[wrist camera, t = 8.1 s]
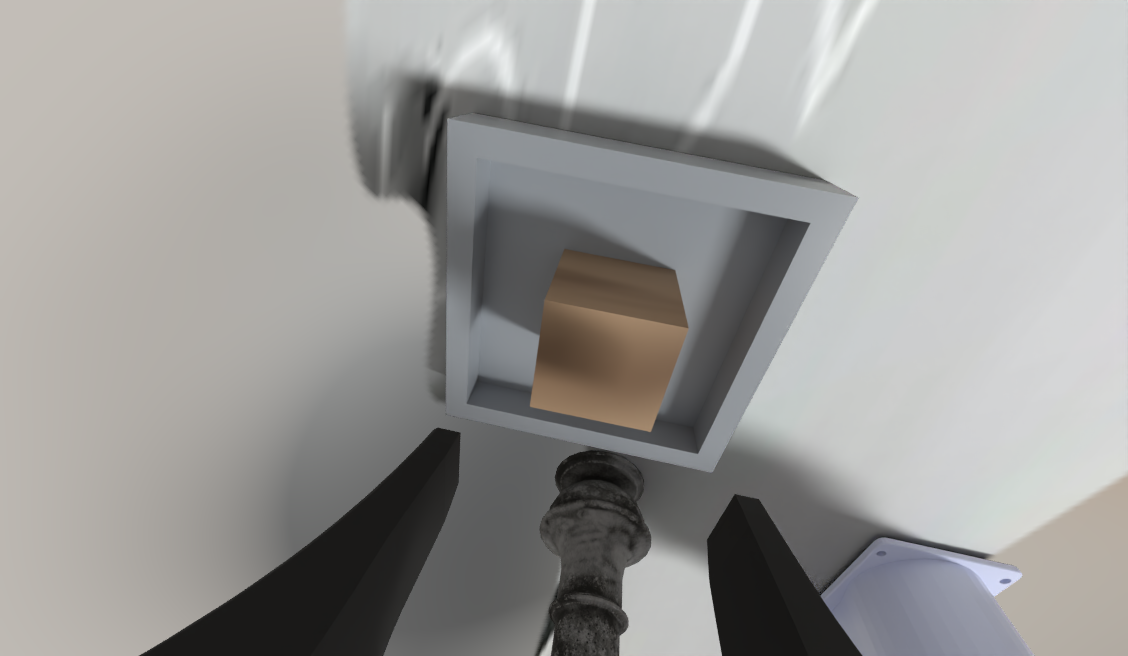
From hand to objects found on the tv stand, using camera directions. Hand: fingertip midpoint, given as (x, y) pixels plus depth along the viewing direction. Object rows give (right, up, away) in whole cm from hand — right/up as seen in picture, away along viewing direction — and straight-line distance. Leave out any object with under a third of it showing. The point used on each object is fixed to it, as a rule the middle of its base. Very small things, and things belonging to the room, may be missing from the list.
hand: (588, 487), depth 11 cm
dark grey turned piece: (+1, -5, +14) cm, 15 cm away
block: (+1, +5, +7) cm, 9 cm away
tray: (+1, +5, +8) cm, 9 cm away
